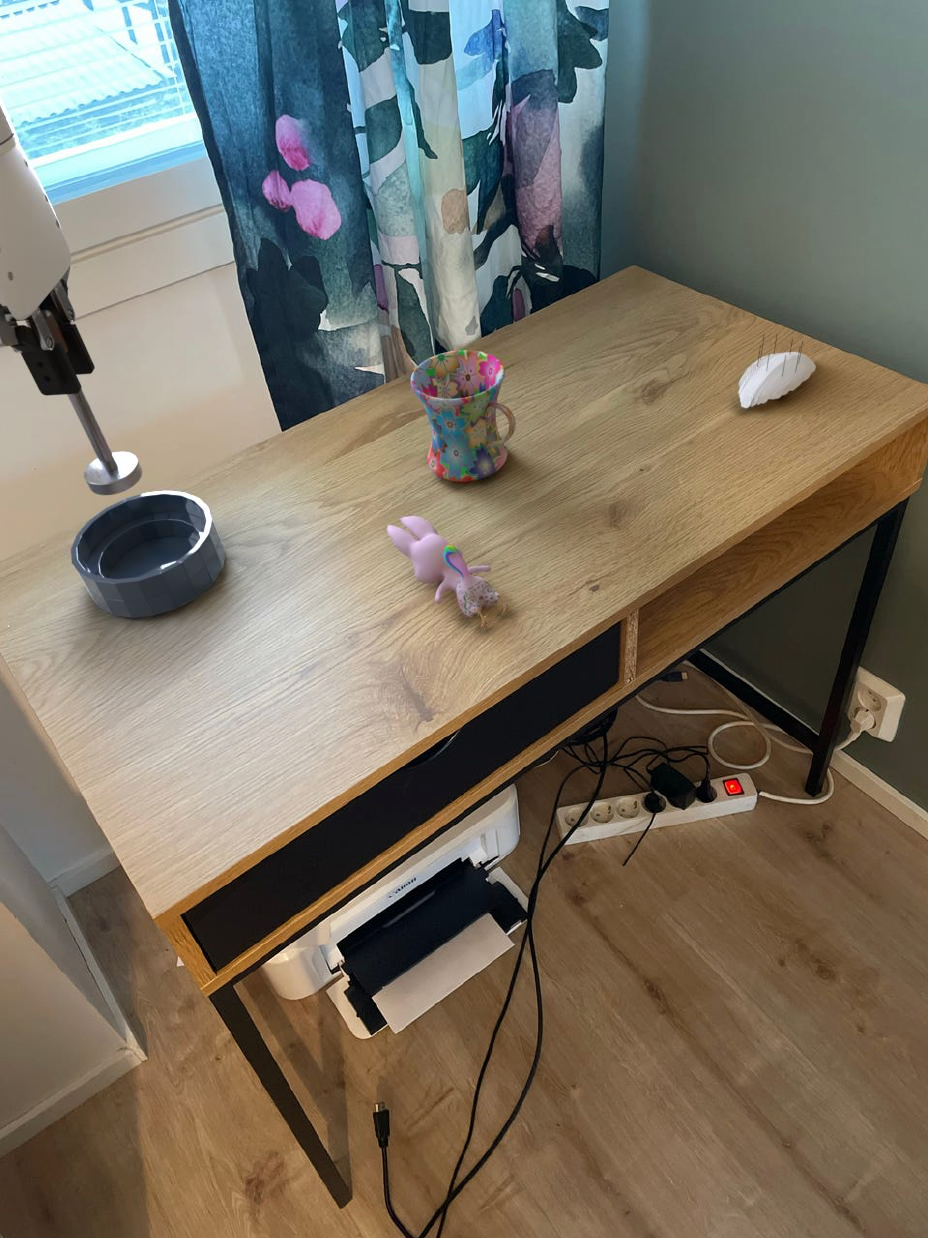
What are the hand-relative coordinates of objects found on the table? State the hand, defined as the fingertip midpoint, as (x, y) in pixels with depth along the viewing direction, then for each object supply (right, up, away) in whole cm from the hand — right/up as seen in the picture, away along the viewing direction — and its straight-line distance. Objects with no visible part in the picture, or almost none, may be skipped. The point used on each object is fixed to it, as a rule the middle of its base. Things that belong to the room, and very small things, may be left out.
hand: (68, 381), depth 70 cm
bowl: (+1, -14, +17) cm, 23 cm away
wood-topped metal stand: (+1, -7, +7) cm, 10 cm away
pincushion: (+66, +7, +29) cm, 72 cm away
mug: (+32, -3, +24) cm, 41 cm away
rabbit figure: (+29, -15, +12) cm, 35 cm away
